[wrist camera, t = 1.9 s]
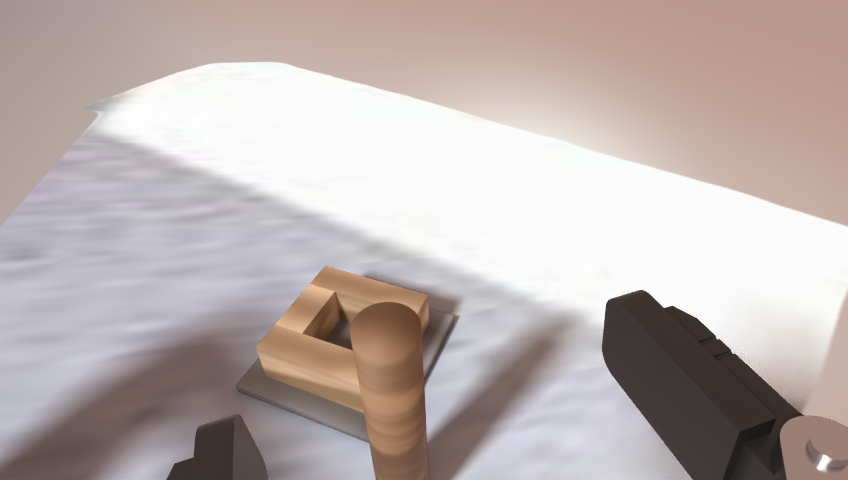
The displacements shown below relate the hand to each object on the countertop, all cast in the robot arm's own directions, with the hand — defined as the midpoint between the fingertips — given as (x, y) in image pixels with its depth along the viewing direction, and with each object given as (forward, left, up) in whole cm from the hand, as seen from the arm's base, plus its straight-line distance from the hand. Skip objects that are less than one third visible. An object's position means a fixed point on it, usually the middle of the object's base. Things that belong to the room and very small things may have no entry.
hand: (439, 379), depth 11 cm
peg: (+11, +8, -33) cm, 35 cm away
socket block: (+22, +19, -33) cm, 44 cm away
